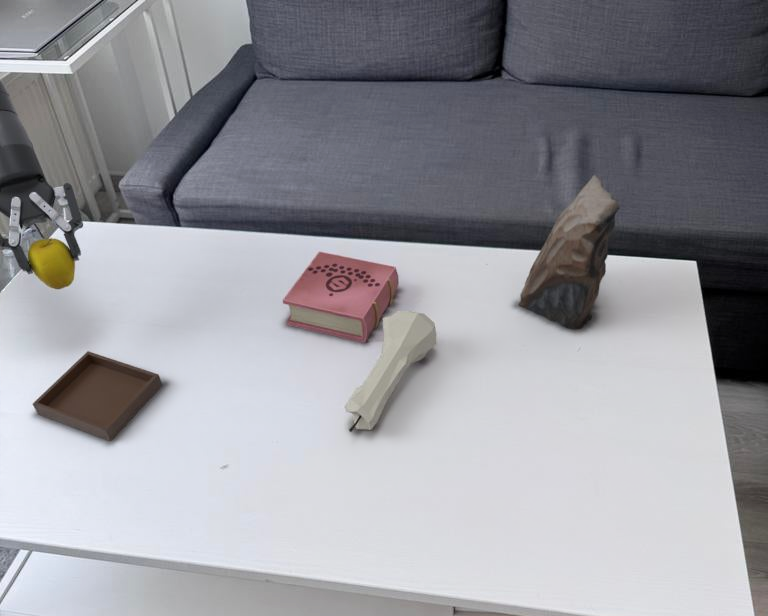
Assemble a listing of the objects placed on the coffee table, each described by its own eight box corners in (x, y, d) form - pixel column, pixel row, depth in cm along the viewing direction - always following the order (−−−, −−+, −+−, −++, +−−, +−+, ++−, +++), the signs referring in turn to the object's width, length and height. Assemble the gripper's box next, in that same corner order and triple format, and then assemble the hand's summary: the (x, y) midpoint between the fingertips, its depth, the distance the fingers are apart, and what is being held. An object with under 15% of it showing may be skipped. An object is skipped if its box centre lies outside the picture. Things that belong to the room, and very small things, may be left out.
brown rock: (569, 275, 131) (589, 164, 115) (622, 311, 125) (652, 198, 109) (515, 303, 127) (528, 192, 111) (567, 341, 120) (589, 229, 105)
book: (369, 343, 122) (368, 319, 118) (286, 324, 126) (282, 300, 122) (401, 292, 130) (400, 267, 126) (322, 275, 134) (319, 251, 130)
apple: (89, 286, 115) (69, 240, 109) (49, 302, 113) (27, 256, 107) (75, 267, 119) (55, 221, 112) (36, 281, 117) (14, 235, 110)
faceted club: (451, 342, 120) (385, 454, 108) (405, 341, 124) (336, 448, 112) (437, 296, 114) (365, 409, 102) (389, 296, 118) (315, 404, 106)
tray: (38, 414, 116) (32, 403, 114) (92, 361, 123) (87, 350, 121) (110, 441, 111) (105, 430, 110) (162, 385, 118) (158, 374, 117)
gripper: (-52, 156, 104) (-1, 274, 106) (52, 130, 107) (99, 245, 110) (-38, 175, 111) (10, 285, 114) (59, 151, 114) (103, 258, 117)
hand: (53, 265), depth 112 cm, fingers closed on apple, 6 cm apart
